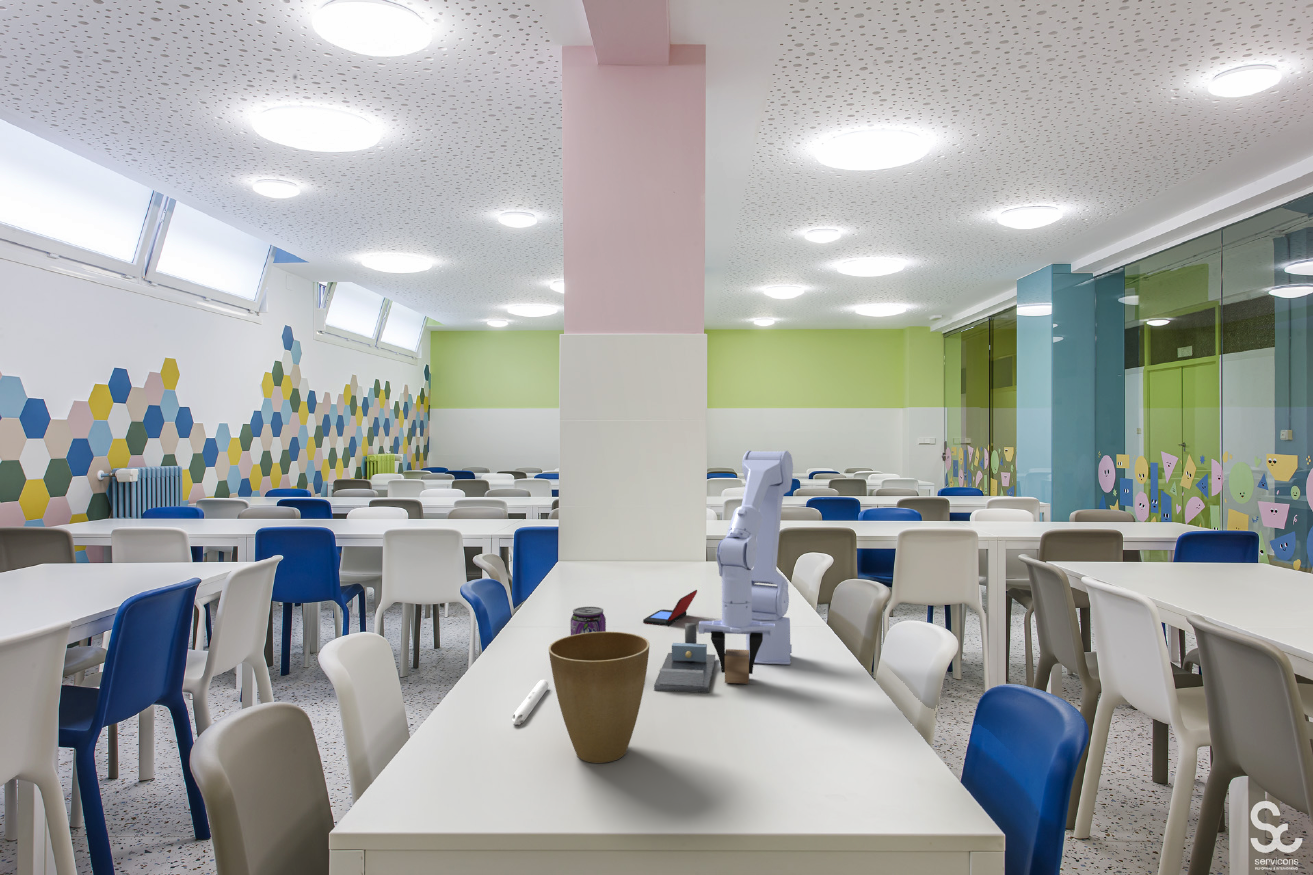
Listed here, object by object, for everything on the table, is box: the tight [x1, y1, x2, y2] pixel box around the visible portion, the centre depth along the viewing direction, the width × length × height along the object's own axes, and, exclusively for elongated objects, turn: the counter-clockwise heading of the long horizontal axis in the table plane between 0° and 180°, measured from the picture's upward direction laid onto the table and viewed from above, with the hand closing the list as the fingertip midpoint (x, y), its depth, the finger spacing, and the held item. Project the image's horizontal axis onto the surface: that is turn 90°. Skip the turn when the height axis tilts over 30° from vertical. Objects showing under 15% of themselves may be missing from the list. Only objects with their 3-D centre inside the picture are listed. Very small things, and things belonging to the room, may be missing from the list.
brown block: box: [724, 648, 750, 685], centre depth 135 cm, size 4×4×5 cm
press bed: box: [653, 652, 716, 694], centre depth 139 cm, size 20×10×4 cm, turn 171°
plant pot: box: [548, 631, 651, 764], centre depth 104 cm, size 15×15×16 cm
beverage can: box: [570, 606, 607, 636], centre depth 142 cm, size 7×7×12 cm
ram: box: [671, 622, 708, 662], centre depth 145 cm, size 6×7×6 cm
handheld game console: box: [642, 589, 698, 627], centre depth 182 cm, size 12×11×7 cm
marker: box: [511, 679, 550, 726], centre depth 122 cm, size 18×2×2 cm, turn 174°
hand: (737, 671), depth 135 cm, fingers closed on brown block, 4 cm apart
